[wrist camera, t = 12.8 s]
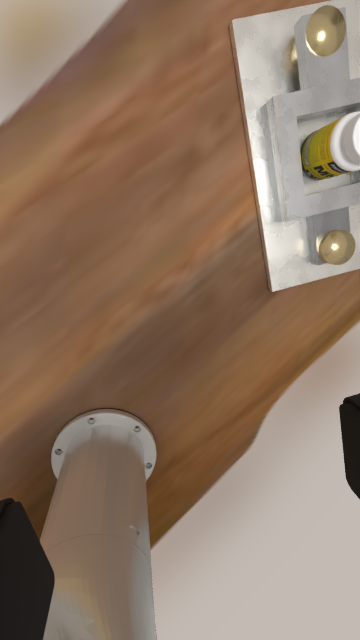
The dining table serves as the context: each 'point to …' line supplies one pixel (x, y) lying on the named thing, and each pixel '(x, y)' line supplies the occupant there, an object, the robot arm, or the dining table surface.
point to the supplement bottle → (332, 149)
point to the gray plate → (300, 134)
